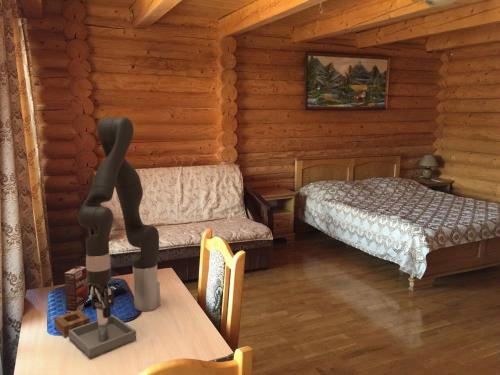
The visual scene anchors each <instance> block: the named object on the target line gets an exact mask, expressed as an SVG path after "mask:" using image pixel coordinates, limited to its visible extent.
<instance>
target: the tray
mask: <svg viewBox="0 0 500 375" xmlns="http://www.w3.org/2000/svg"><path fill="white" fill-rule="evenodd" d="M108 335H109V339H108V340H107V341H104V342H101V341H99V338H98V321H97V320H95V321H94V320H93V321H90V323H88V324H85V325H82V326H80V327H77V328H74V329H71V330H69V336H68V340H69V342H70V343H72V344H73V345H74V346H75V347H76V348H77V349H78V350H79V351H80V352H81V353H82V354H84V355H85V356H86V357H87V358H88V360H92V359H95V358H97V357H100V356H102V355H104V354H106V353H107V354H108V353H111V352H112V351H115V350H117V349H119V348H122V347H124V346H126V345H129V344H131V343H134V342H136V341H137V331H136V330H135V329H134V328H132V327H131V326H129V324H127V323H125V322H124V321H123V320H121V319H119V318H118V317H117V316H116V315H114V314H111V316H110V317H108Z"/></svg>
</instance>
